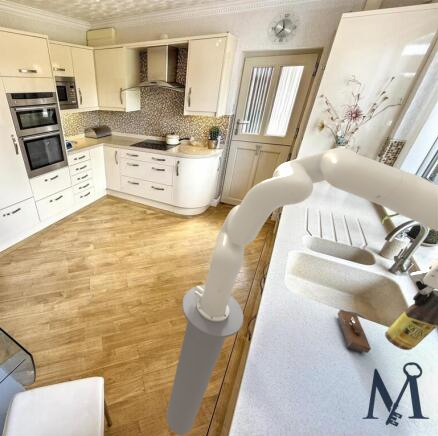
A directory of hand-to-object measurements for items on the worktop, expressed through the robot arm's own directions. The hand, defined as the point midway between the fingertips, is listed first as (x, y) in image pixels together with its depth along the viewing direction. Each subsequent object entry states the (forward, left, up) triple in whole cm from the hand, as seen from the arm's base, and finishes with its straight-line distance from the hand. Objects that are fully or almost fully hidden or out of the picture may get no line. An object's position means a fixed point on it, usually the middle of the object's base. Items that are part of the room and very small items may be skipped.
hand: (429, 308), depth 63 cm
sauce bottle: (0, 0, -15) cm, 15 cm away
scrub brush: (-9, +2, -24) cm, 26 cm away
